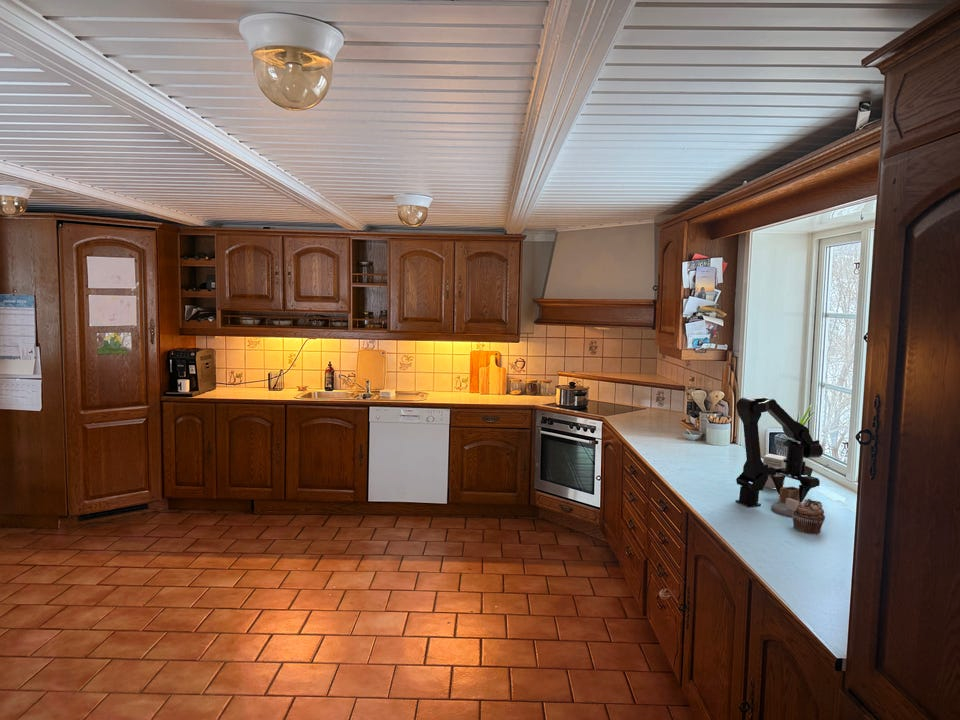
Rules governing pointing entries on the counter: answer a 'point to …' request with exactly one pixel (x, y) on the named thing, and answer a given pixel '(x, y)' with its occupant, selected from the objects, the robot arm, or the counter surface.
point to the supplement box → (773, 461)
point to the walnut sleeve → (789, 493)
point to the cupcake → (808, 517)
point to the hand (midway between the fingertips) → (790, 498)
